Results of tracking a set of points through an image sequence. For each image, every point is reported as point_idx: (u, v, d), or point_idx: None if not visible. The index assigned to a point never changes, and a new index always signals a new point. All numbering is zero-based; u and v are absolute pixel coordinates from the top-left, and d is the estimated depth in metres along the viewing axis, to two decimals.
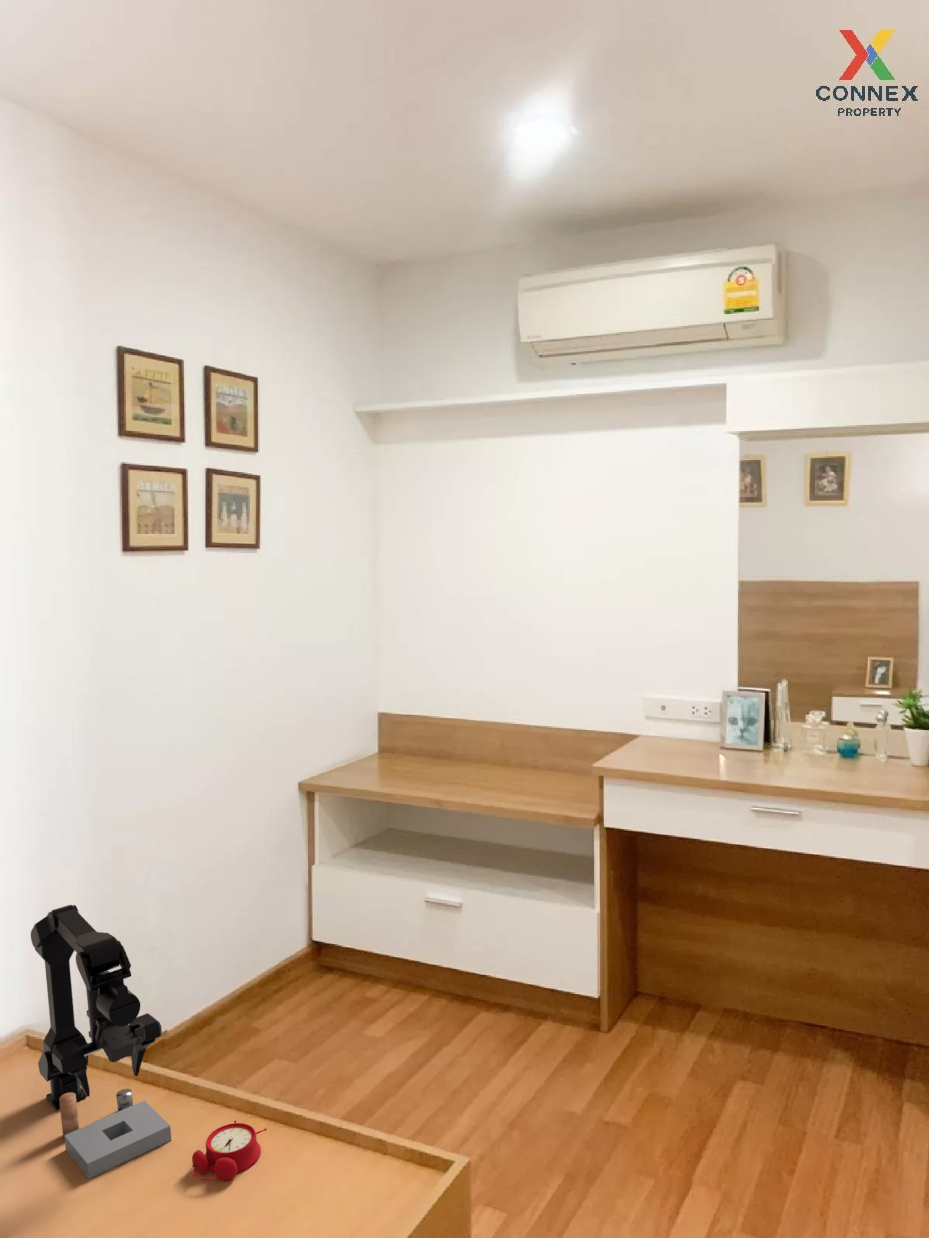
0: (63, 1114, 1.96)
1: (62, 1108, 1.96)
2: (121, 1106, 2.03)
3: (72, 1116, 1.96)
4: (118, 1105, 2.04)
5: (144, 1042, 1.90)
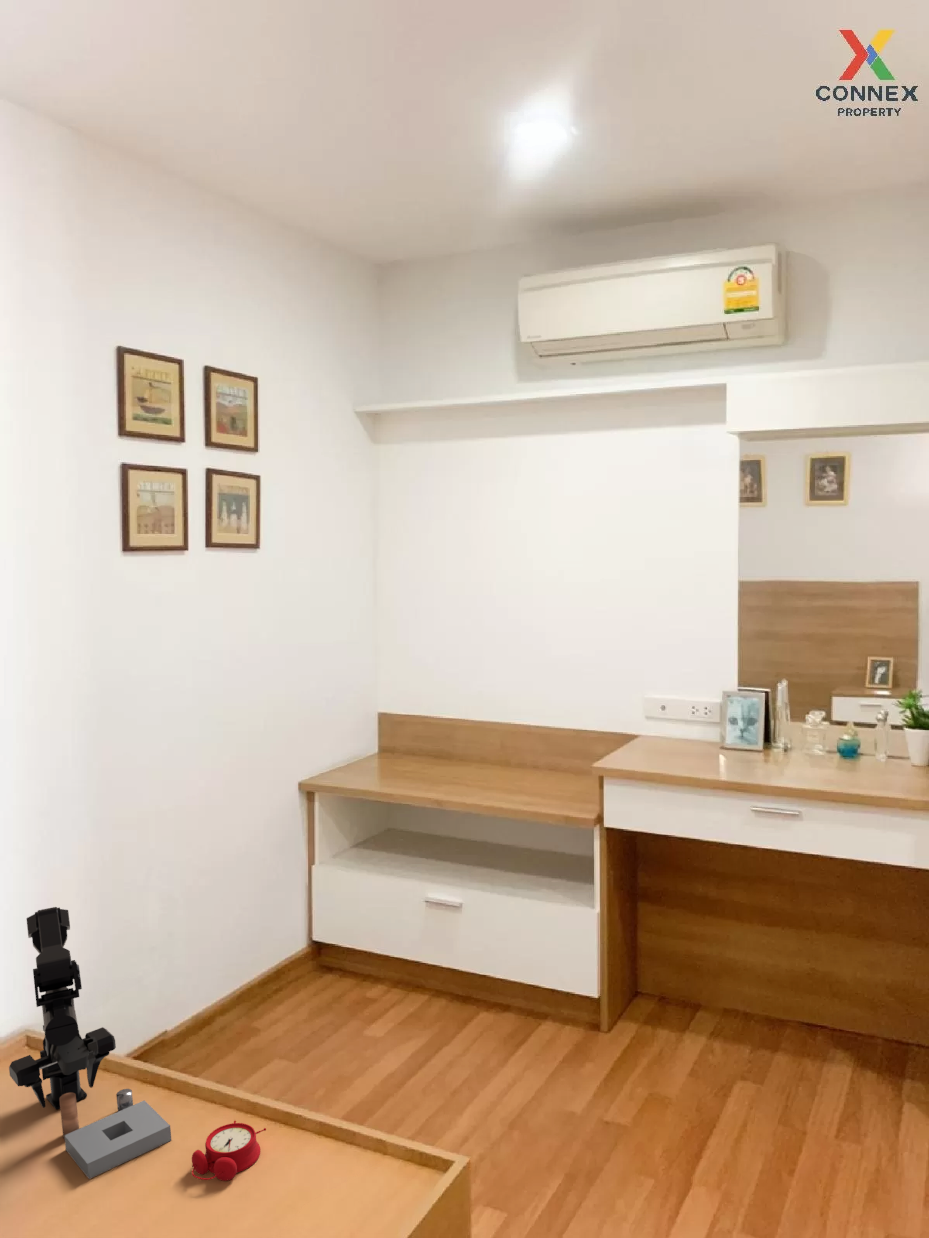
0: (63, 1114, 1.96)
1: (62, 1108, 1.96)
2: (121, 1106, 2.03)
3: (72, 1116, 1.96)
4: (118, 1105, 2.04)
5: (98, 1055, 1.99)
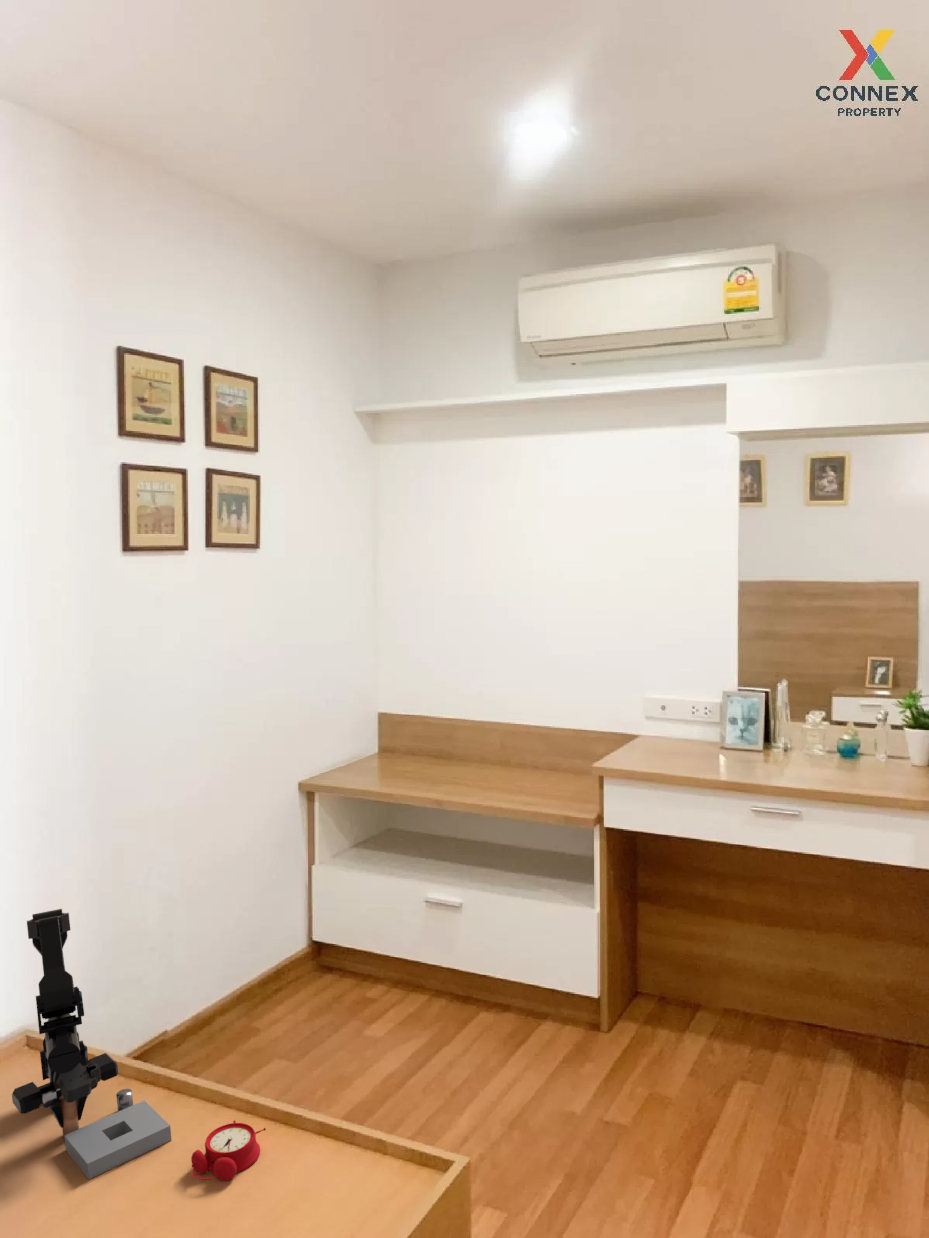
0: (63, 1114, 1.96)
1: (62, 1108, 1.96)
2: (121, 1106, 2.03)
3: (72, 1116, 1.96)
4: (118, 1105, 2.04)
5: None
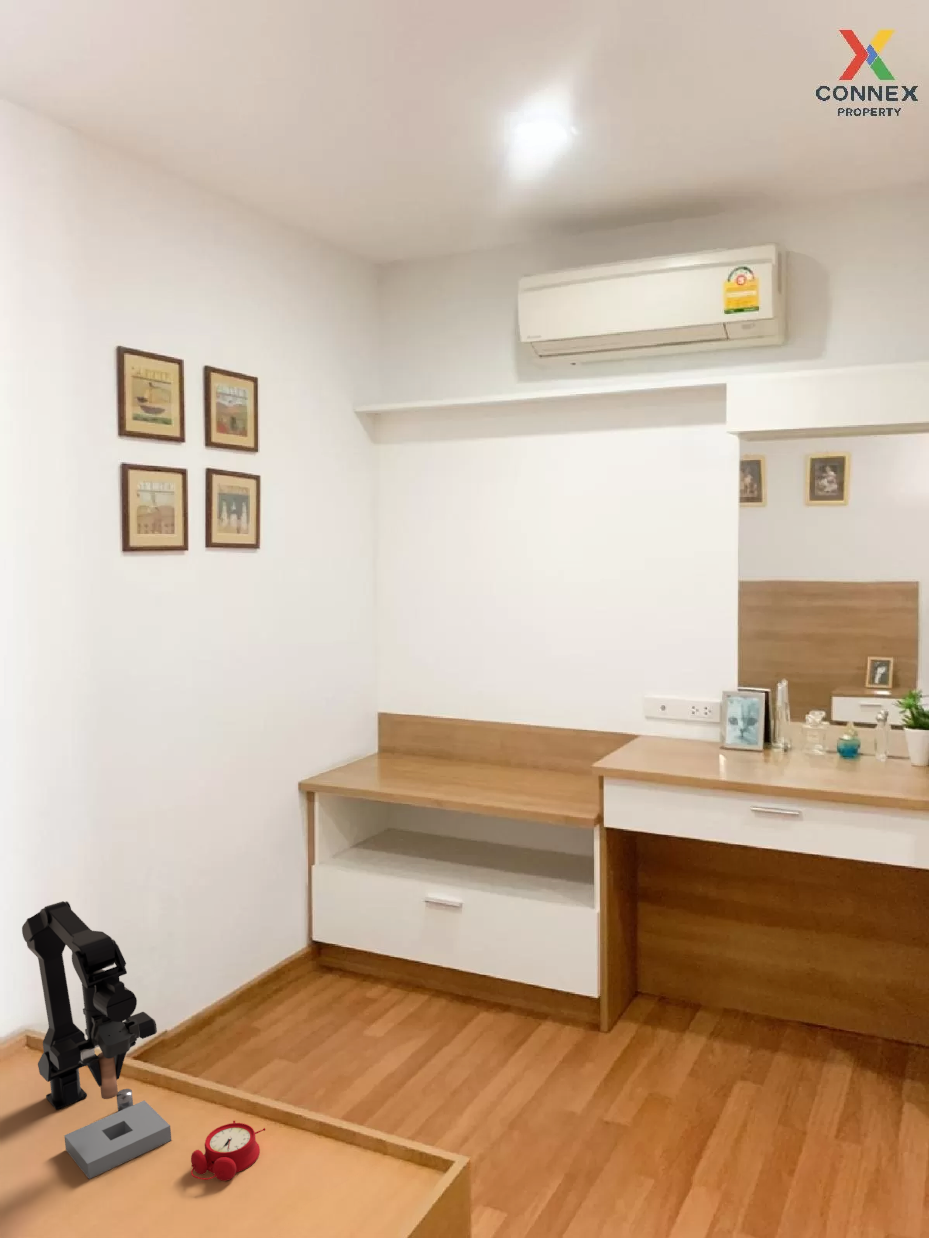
0: (101, 1072, 1.91)
1: (100, 1065, 1.91)
2: (121, 1106, 2.03)
3: (110, 1074, 1.91)
4: (118, 1105, 2.04)
5: None
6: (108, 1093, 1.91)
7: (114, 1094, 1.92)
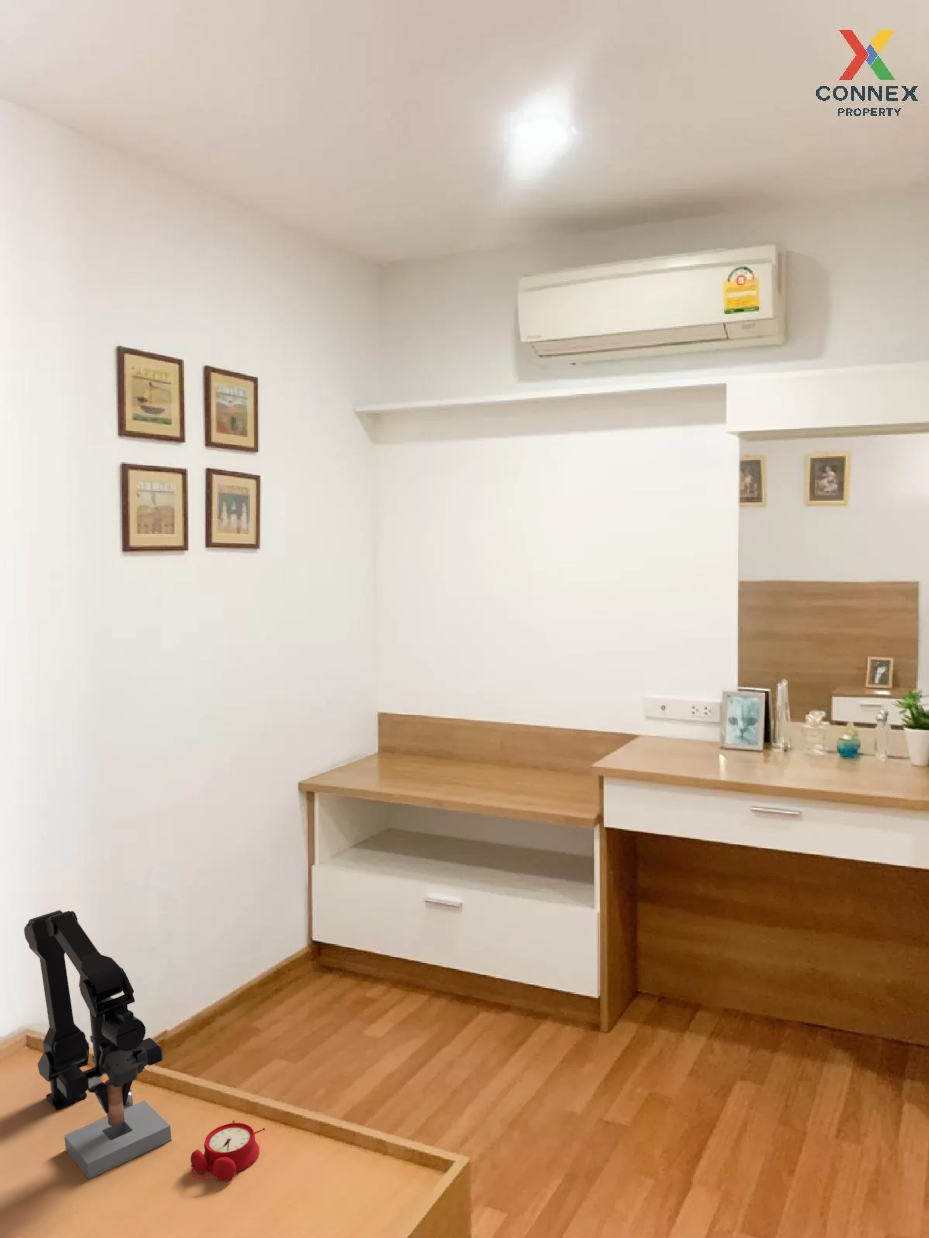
0: (108, 1099, 1.91)
1: (108, 1093, 1.91)
2: None
3: (117, 1101, 1.92)
4: None
5: None
6: (115, 1120, 1.92)
7: (121, 1121, 1.93)
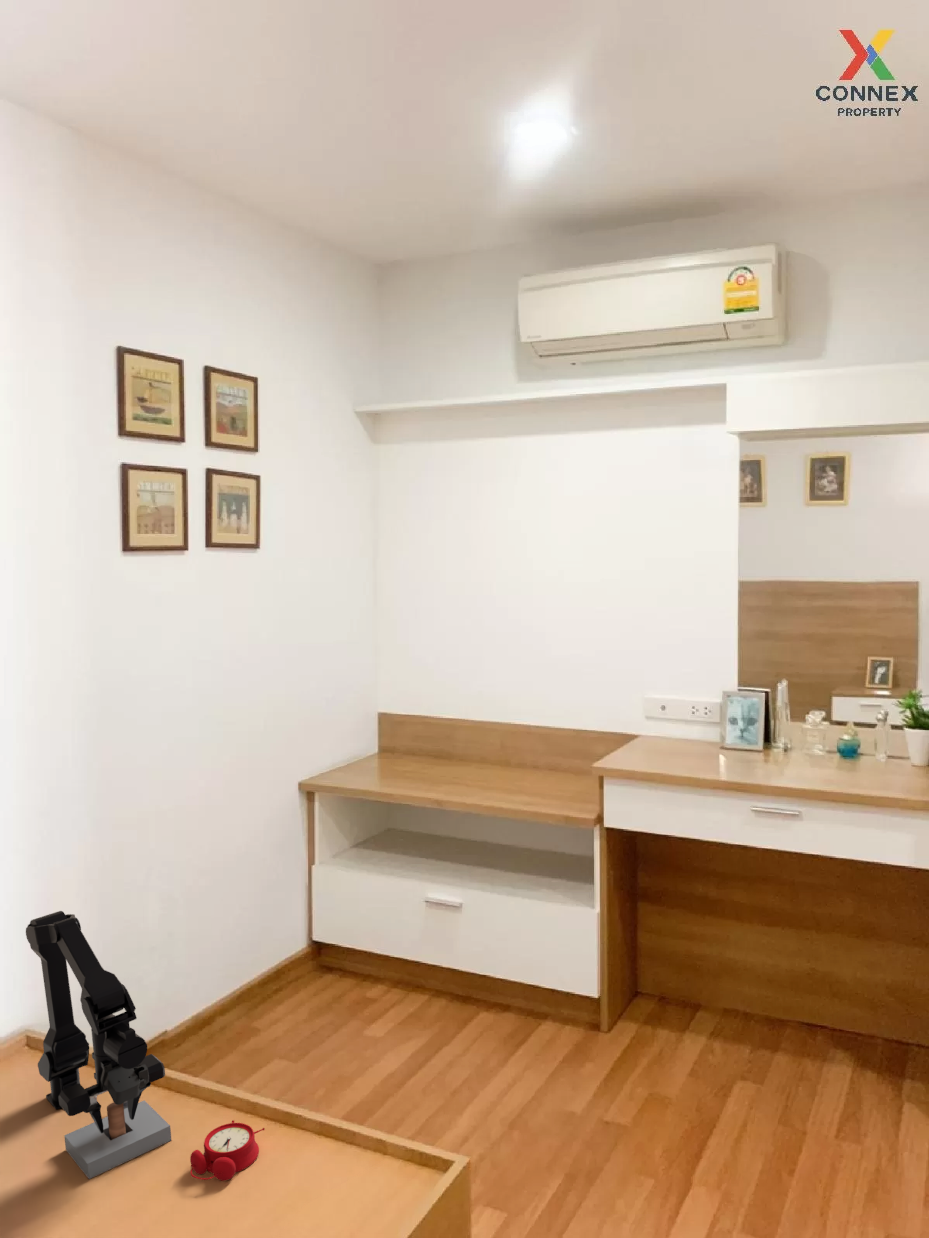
0: (111, 1124, 1.92)
1: (110, 1117, 1.92)
2: None
3: (120, 1126, 1.92)
4: None
5: None
6: None
7: None
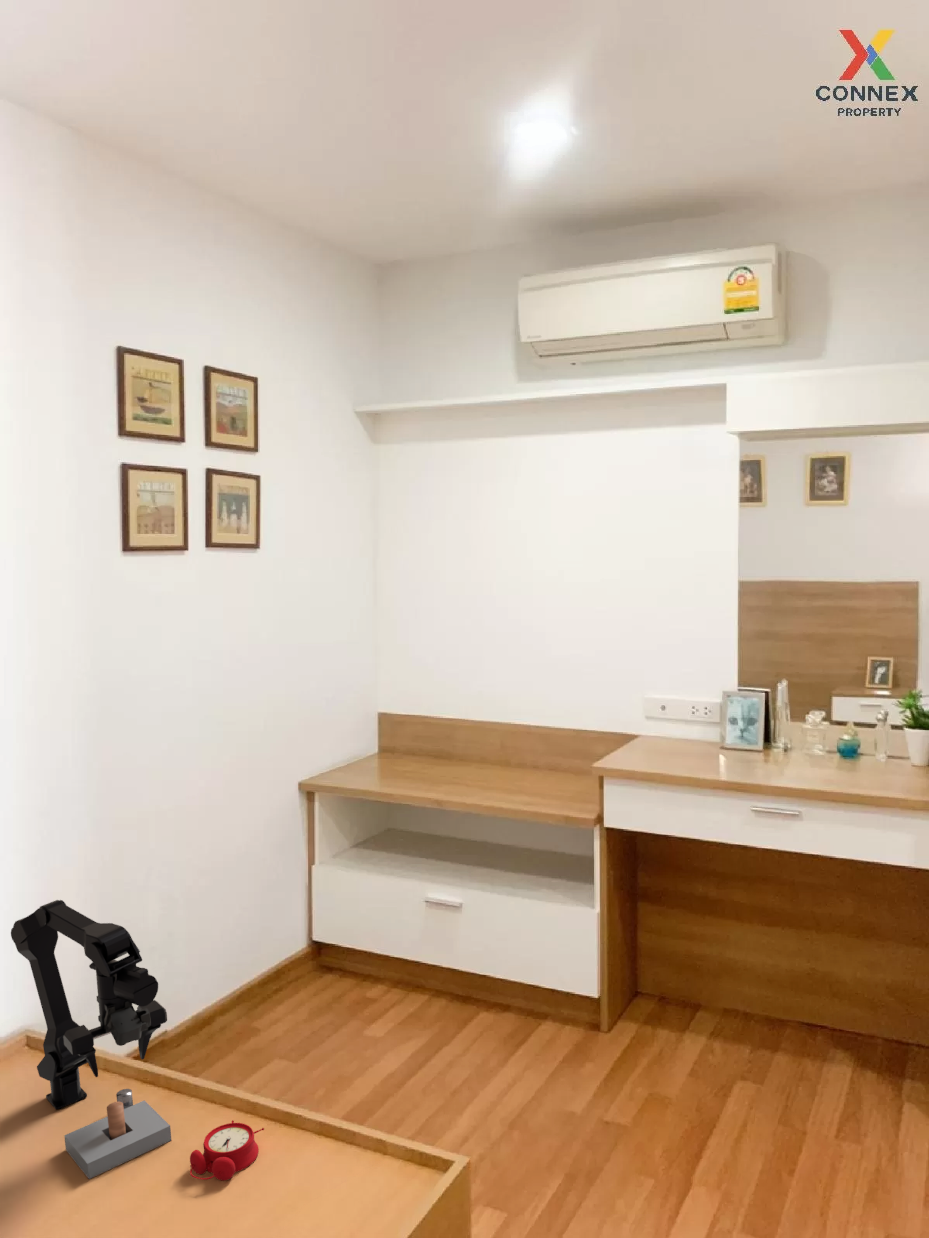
0: (111, 1124, 1.92)
1: (110, 1117, 1.92)
2: None
3: (120, 1126, 1.92)
4: None
5: (150, 1027, 2.00)
6: None
7: None
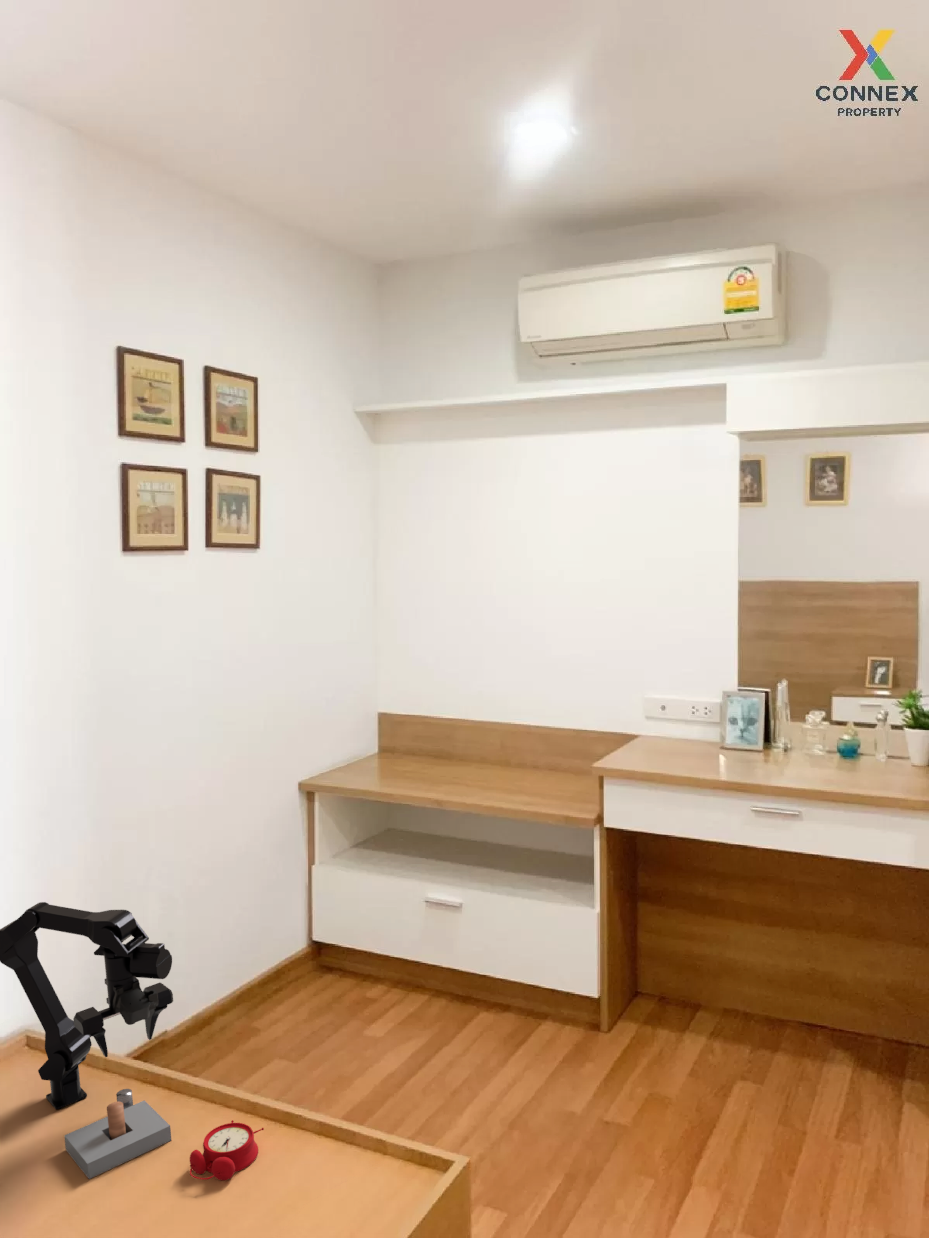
0: (111, 1124, 1.92)
1: (110, 1117, 1.92)
2: None
3: (119, 1126, 1.92)
4: None
5: (157, 1008, 2.07)
6: None
7: None
